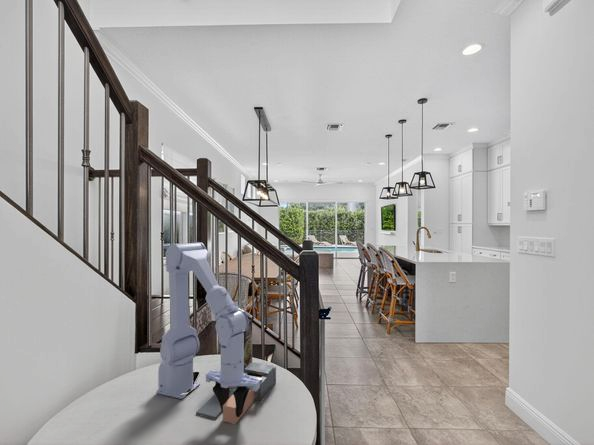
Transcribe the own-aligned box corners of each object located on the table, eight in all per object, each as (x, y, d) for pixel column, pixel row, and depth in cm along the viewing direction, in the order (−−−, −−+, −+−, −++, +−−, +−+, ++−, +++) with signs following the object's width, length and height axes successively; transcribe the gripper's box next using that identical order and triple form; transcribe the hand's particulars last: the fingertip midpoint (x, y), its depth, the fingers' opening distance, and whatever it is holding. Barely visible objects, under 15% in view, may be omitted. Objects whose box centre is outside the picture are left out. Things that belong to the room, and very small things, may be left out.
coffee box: (243, 379, 95) (243, 328, 95) (224, 377, 97) (224, 327, 96) (253, 365, 104) (253, 319, 104) (235, 363, 106) (235, 318, 105)
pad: (196, 414, 78) (196, 412, 78) (221, 389, 89) (221, 387, 89) (215, 419, 76) (215, 416, 76) (239, 393, 87) (239, 391, 87)
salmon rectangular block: (222, 421, 75) (222, 405, 75) (244, 396, 86) (244, 382, 86) (235, 424, 74) (235, 407, 74) (255, 398, 85) (255, 384, 84)
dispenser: (236, 397, 86) (236, 375, 85) (253, 377, 96) (253, 358, 96) (260, 402, 83) (260, 380, 83) (276, 382, 94) (276, 362, 93)
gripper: (198, 362, 75) (198, 416, 75) (250, 371, 70) (250, 429, 70) (214, 350, 81) (214, 400, 81) (263, 358, 77) (263, 411, 77)
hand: (232, 412), depth 76 cm, fingers closed on salmon rectangular block, 3 cm apart
